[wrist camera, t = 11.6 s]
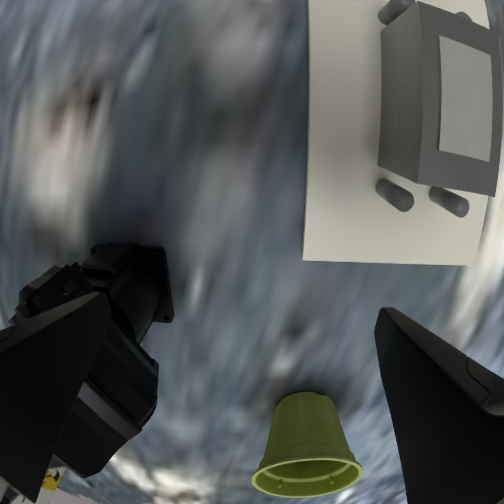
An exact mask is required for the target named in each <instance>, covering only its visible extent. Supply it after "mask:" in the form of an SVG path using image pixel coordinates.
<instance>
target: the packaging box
mask: <svg viewBox="0 0 504 504" xmlns="http://www.w3.org/2000/svg"><path fill="white" fill-rule="evenodd" d="M64 471H65V467H62V468H54V469H47V472H46V475H45V478H44V481H43V483H42V486H41V489H40V492H39V495H38V499H37V501H36V503H35V504H49V503H50V500H51V498H52V496H53V494H54V492H55V490H56V488H57V486H58V483H59V481H60V479H61V477H62V475H63V473H64ZM11 504H34V503H32V502H31V501H29V500H27V499H26V498H24V497H23V496H21V495H19V496H18V497H17V498H16V499H15V500H14V501H13V502H12V503H11Z"/></svg>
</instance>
